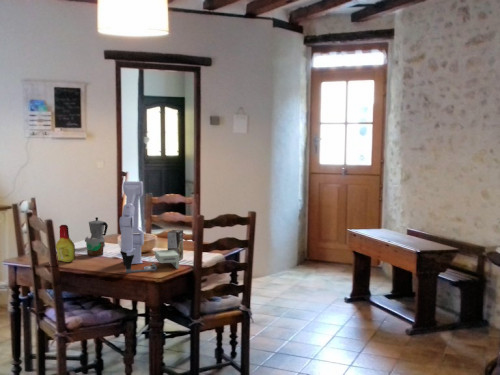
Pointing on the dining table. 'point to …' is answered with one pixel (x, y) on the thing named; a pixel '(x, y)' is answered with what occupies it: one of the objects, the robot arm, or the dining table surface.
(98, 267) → the dining table surface
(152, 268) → the steel token
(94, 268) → the dining table surface
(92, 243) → the food container
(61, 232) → the bottle
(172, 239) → the coffee box
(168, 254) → the low cabinet
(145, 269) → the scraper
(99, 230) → the coffeepot
